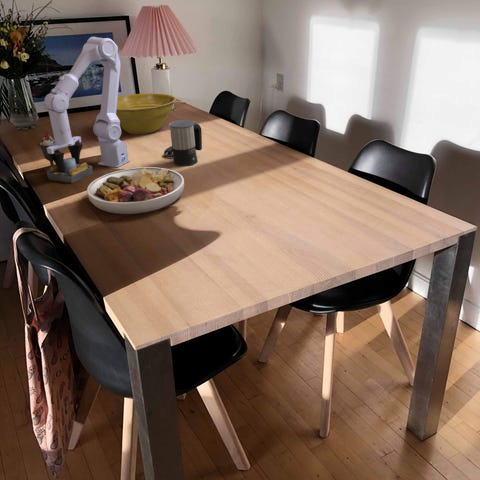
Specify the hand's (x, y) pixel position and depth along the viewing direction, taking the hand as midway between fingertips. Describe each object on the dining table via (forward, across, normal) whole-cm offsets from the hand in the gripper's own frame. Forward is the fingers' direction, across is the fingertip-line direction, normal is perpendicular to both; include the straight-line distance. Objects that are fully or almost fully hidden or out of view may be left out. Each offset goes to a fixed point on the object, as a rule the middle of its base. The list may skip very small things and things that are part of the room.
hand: (69, 167), depth 179 cm
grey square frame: (+3, 0, 0) cm, 3 cm away
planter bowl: (+3, +58, +10) cm, 58 cm away
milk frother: (+3, +28, -28) cm, 40 cm away
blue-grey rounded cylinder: (+3, 0, 0) cm, 3 cm away
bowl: (+4, -8, -34) cm, 35 cm away
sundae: (+3, +3, +11) cm, 12 cm away
